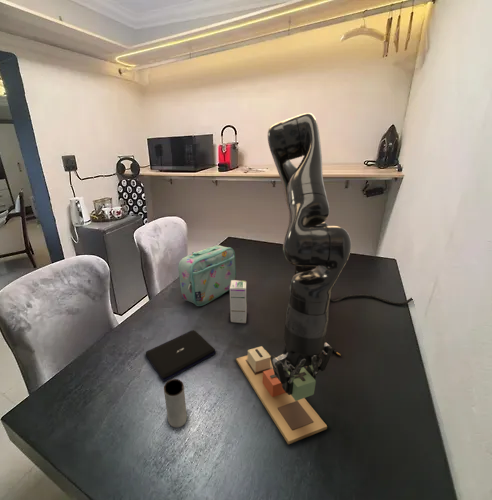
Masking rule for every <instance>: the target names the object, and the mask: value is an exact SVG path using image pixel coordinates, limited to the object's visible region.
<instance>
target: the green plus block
mask: <svg viewBox="0 0 492 500" xmlns="http://www.w3.org/2000/svg"><path fill="white" fill-rule="evenodd" d="M288 374H289V375H290V372H288ZM293 382H294V383H293V391H292V394H291V396H292V397H293V398H294V399H295V401H297V400H300V399H303V398H305V399H306V398H308V397H311V396H314V395H315V390H316V384H317V380H316V378H315V379H314V378H313V377H312V376H311V375H310V374H309V373H308V372H307V370H306V367H305V366H304V367H302V368H301V370H300V373H299V375H296V376H295V379H294V381H293Z"/></svg>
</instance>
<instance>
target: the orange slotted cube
mask: <svg viewBox="0 0 492 500" xmlns="http://www.w3.org/2000/svg"><path fill="white" fill-rule="evenodd" d="M263 384H264V386H265V387H266V389H267V390H268V392H269V393H270V395H271V396H272V397H275V396H277V395H280V394H283V393H286V392H285V391H284V389H283V388H282V383H281V382H280V381H279V379H278V378H277V377H276V375H275V374H274V370H273V369H270V370H266V371H263Z"/></svg>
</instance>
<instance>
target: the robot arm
mask: <svg viewBox="0 0 492 500" xmlns="http://www.w3.org/2000/svg"><path fill="white" fill-rule="evenodd" d="M267 143H268V148H269V151H270V154H271V156H272V160H273V162H274V165H275V168H276V171H277V174H278V176H279V179H280V182H281V187H282V192H283V196H284V201H285V203H286V207H287V210H288V224H287V228H286V232H285V235H284V239H283V243H282V254H283V257H284V258H285V260H286V261H287V262H288V263H289V264H290V265H292V266H294V275H293V276H292V277H291V279H290V283H289V292H288V293H289V294H288V303H287V307H286V312H285V322H284V333H283V334H284V335H283V342H284V349H283V351H282V354H280V355H278V356H276V355H275V354H272V355H270V356H271V357H270V359H271V363H272V367H273V370H274V374H275V375H276V377H277V378H278V379H279V381H280V382H281V383H282V388H283V389H284V391H285V392H286V393H287V394H288V395H291V394H292V391H293V383H294V382H293V381H294V379H295V376H296V375H299V373H300V370H301V368H302V367H304V368H305V369H306V370H307V372H308V373H309V374H310V375H311V376H312V377H313V378H314V379H315V380H316V376H317V375H318V374H319V371H321V372H323V371H325V370H326V369H327V366H328V363H329V361H330V359H331V356H332V354H333V353H334V352H333V349H334V348H333V347H332V346H331V345H330V344H329V343H327V342H326V340H327V333H328V327H329V320H330V318H329V317H330V315H329V314H330V313H329V312H330V311H329V310H330V303H336V302H341V301H343V300H345V299H349V298H371V299H375V300H378V301H381V302H384V303H387V304H390V305H396V306H404V305H408V304H409V303H411V302H412V301H414V300H413V299H412V297H410V298H408V299H407V300H405V301H401V302H397V301H391V300H388V299H385V298H382V297H379V296H375V295H371V294H364V293H363V294H362V293H361V294H360V293H358V294H348V295H344V296H341V297H339V298H337V299H332V292H333V289H334V287H335V284H336V283H337V280H338V278H339V277H340V275H341V273H342V271H343V269H344V268H345V266H346V264H347V262H348V260H349V258H350V255H351V252H352V239H351V236H350V234H349V232H348V231H347V229H345V228H344V227H342V226H339V225H329V224H328V223H327V222H326V221H327V219H328V218H329V216H330V212H331V208H330V203H329V200H328V196H327V195H328V194H327V190H326V187H325V183H324V175H323V154H322V143H321V136H320V129H319V125H318V122H317V119H316V117H315V115H314V114H313V113H311V112H305V113H301V114H298V115H296V116H293V117H289V118H287V119H284V120H281V121H278V122H276V123H273V124H272V125H271V126H269V128H268V130H267ZM299 158H302V159H301V161H300V162H299V164H298V166H295V165H294V164H293V162H291V160H292V161H293V160H295V159H299ZM320 360H321V361H320ZM288 372H290V375H289V374H288Z"/></svg>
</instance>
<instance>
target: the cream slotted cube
mask: <svg viewBox="0 0 492 500" xmlns="http://www.w3.org/2000/svg"><path fill="white" fill-rule="evenodd" d="M265 350H266V349H265V348H264V347H263V346H262V345H261V346H257V347H254V348H251V349H247V355H248V358H247V361H248V362H249V364H250V365H251V367H252V368H253V370H254V371H255V372H259V371H262V370H265V369H268V368H270V356H271V355H270V354H269V355H270V356H269V355H268V353H269V352H268V351H267V350H266V351H267V352H268V353H267V352H266V351H265Z"/></svg>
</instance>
